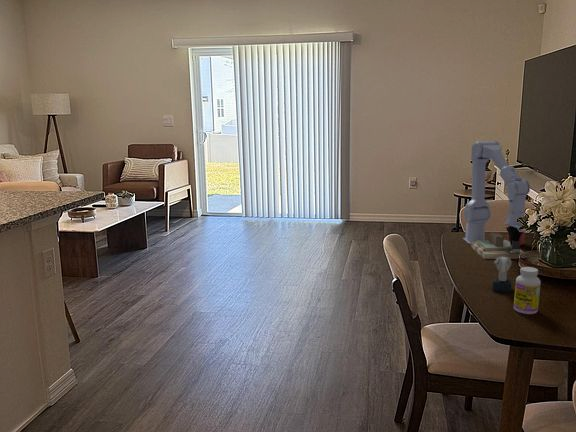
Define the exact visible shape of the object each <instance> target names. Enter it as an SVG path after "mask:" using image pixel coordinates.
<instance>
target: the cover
mask: <svg viewBox="0 0 576 432" xmlns="http://www.w3.org/2000/svg"><path fill="white" fill-rule="evenodd" d="M506 240H507V239H505V238H504V236H503V235H502V234H501V233H499V232H498V231H489V239H484V240H477V242H478V243H479V244H480V245H481V246H482V247H483V248H485V249H506V247H509V246H511V245H510V243H509V242H508V241H506Z"/></svg>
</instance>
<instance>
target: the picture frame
mask: <svg viewBox="0 0 576 432" xmlns="http://www.w3.org/2000/svg"><path fill="white" fill-rule="evenodd" d="M505 240H506V241H508V240H507V239H505ZM508 242H509V241H508ZM509 243H510V242H509ZM470 247H471V248H472V250H474V251H475V252H476V253H477V254H478V255H479V256H480V257H481V258H483V259H484V260H485V259H486V260H487V259H490V260H491V259H493V260H494V259H495V260H496V259H497V258H498V257H507V258H509V259H510V260H511V259H513V260H514V259H517V260H519V259H518V257H519V255H520V254H522V253H525V251H524V250H521V249H520V250H519V252H513V251H511V250H510V248H509V247H506V249H485V248H483V247H482V246H481V245H480V244H479V243H478V242H477V240H474V241H473V242H471V244H470Z"/></svg>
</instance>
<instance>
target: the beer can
mask: <svg viewBox="0 0 576 432" xmlns="http://www.w3.org/2000/svg"><path fill="white" fill-rule="evenodd" d="M507 227H510V225H507ZM525 233H526V231H525V232H523V233H522V235H521V237H520V239H519V241H520V246H522V245H524V243H525ZM506 238H507V239H506V240H508V241H509V242H510V239H509V234H508V233H507V237H506Z"/></svg>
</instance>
